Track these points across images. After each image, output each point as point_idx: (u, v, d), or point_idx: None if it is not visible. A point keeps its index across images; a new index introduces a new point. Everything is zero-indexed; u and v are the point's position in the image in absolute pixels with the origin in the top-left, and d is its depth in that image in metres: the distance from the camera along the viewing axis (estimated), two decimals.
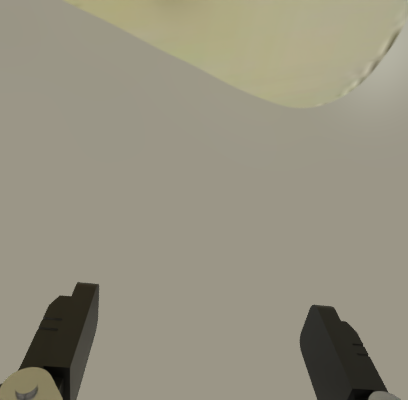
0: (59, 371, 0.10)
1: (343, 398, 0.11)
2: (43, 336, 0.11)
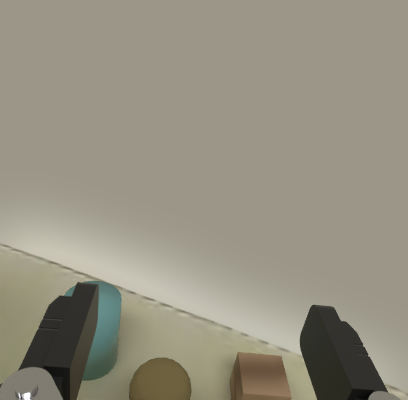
0: (59, 371, 0.10)
1: (343, 398, 0.11)
2: (43, 336, 0.11)
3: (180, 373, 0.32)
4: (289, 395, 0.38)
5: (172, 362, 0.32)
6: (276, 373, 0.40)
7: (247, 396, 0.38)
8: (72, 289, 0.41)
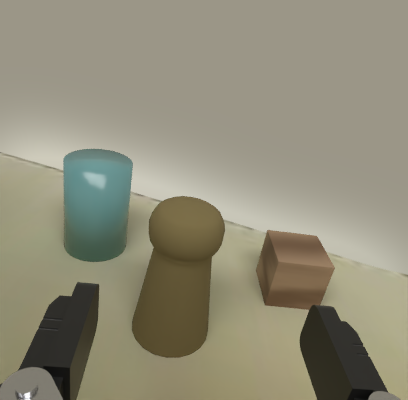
0: (59, 371, 0.10)
1: (343, 398, 0.11)
2: (43, 336, 0.11)
3: (211, 207, 0.26)
4: (332, 266, 0.32)
5: (200, 199, 0.27)
6: (314, 248, 0.35)
7: (283, 266, 0.32)
8: (74, 152, 0.35)
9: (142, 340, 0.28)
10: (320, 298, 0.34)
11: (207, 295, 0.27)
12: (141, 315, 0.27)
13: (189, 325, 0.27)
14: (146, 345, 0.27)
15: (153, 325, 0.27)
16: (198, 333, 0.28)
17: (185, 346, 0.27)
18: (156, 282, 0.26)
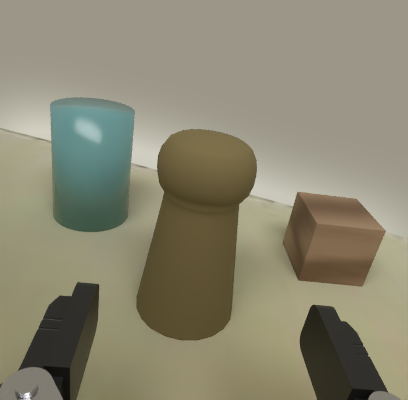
0: (59, 371, 0.10)
1: (343, 398, 0.11)
2: (43, 336, 0.11)
3: (238, 139, 0.20)
4: (382, 229, 0.26)
5: (223, 133, 0.20)
6: (356, 211, 0.28)
7: (322, 229, 0.26)
8: (64, 99, 0.29)
9: (150, 319, 0.21)
10: (366, 271, 0.28)
11: (233, 258, 0.21)
12: (147, 286, 0.21)
13: (210, 297, 0.21)
14: (155, 325, 0.21)
15: (164, 297, 0.20)
16: (222, 309, 0.22)
17: (206, 325, 0.21)
18: (168, 239, 0.20)
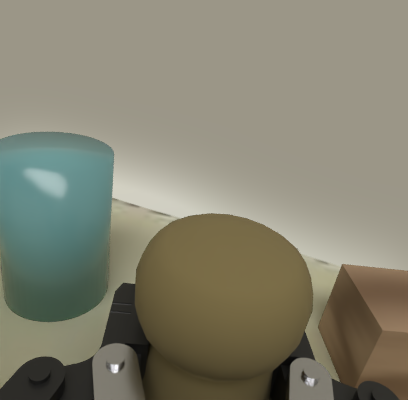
0: (138, 348, 0.11)
1: None
2: (116, 318, 0.12)
3: (279, 239, 0.11)
4: None
5: (250, 220, 0.12)
6: None
7: (390, 338, 0.17)
8: (15, 136, 0.20)
9: None
10: None
11: None
12: None
13: None
14: None
15: None
16: None
17: None
18: None
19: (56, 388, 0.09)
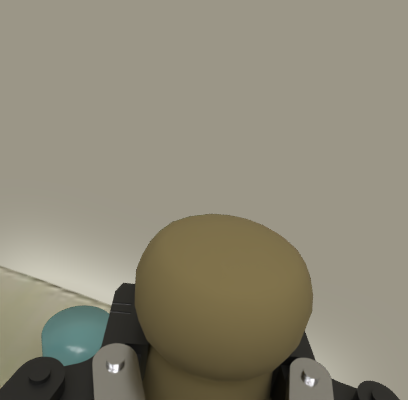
0: (138, 348, 0.11)
1: None
2: (116, 318, 0.12)
3: (279, 240, 0.11)
4: None
5: (250, 221, 0.12)
6: None
7: None
8: (54, 317, 0.33)
9: None
10: None
11: None
12: None
13: None
14: None
15: None
16: None
17: None
18: None
19: (56, 388, 0.09)
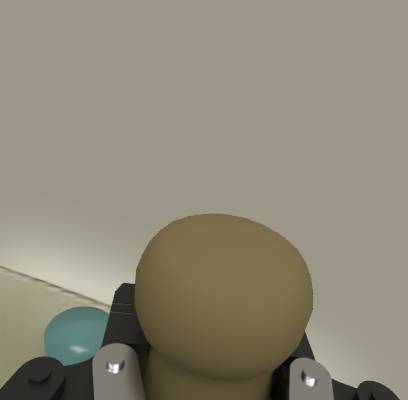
0: (138, 348, 0.11)
1: None
2: (116, 318, 0.12)
3: (279, 239, 0.11)
4: None
5: (250, 220, 0.12)
6: None
7: None
8: (57, 318, 0.34)
9: None
10: None
11: None
12: None
13: None
14: None
15: None
16: None
17: None
18: None
19: (56, 388, 0.09)
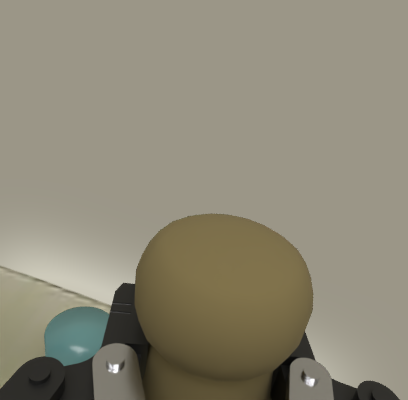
0: (138, 348, 0.11)
1: None
2: (116, 318, 0.12)
3: (279, 239, 0.11)
4: None
5: (250, 220, 0.12)
6: None
7: None
8: (56, 318, 0.34)
9: None
10: None
11: None
12: None
13: None
14: None
15: None
16: None
17: None
18: None
19: (56, 388, 0.09)
